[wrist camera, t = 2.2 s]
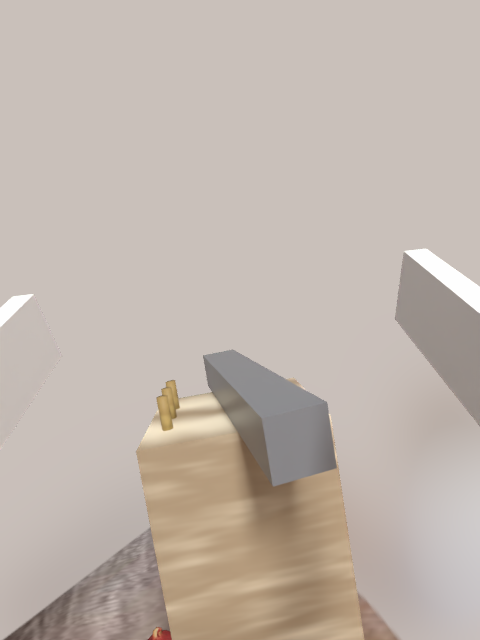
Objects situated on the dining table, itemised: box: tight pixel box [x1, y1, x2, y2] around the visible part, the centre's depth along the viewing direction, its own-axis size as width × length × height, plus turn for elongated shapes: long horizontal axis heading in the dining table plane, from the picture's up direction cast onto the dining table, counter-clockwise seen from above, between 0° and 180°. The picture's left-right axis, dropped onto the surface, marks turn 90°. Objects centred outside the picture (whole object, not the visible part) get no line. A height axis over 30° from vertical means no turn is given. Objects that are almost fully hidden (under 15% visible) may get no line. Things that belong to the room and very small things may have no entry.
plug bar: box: [203, 350, 337, 487], centre depth 34 cm, size 27×4×4 cm, turn 13°
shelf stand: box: [136, 378, 364, 640], centre depth 37 cm, size 14×16×41 cm
